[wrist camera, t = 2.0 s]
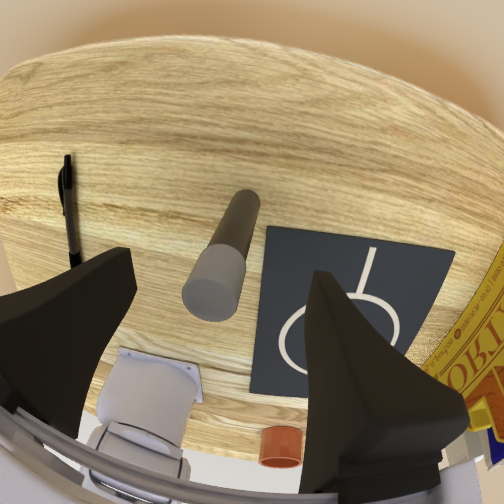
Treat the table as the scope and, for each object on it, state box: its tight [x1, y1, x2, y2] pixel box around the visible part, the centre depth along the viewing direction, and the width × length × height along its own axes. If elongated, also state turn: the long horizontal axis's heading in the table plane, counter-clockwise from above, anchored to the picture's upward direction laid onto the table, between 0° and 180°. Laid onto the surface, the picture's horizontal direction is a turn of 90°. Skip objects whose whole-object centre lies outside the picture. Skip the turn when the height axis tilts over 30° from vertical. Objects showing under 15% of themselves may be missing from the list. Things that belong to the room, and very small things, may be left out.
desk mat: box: [249, 226, 455, 398], centre depth 23 cm, size 15×20×1 cm
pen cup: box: [258, 426, 303, 469], centre depth 32 cm, size 6×6×5 cm
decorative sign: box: [420, 242, 504, 443], centre depth 14 cm, size 20×3×15 cm, turn 169°
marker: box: [182, 190, 260, 322], centre depth 14 cm, size 2×2×10 cm
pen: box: [58, 154, 82, 269], centre depth 20 cm, size 14×2×1 cm, turn 168°
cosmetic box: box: [445, 430, 484, 466], centre depth 22 cm, size 6×4×12 cm
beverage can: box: [478, 426, 504, 471], centre depth 17 cm, size 6×6×15 cm
